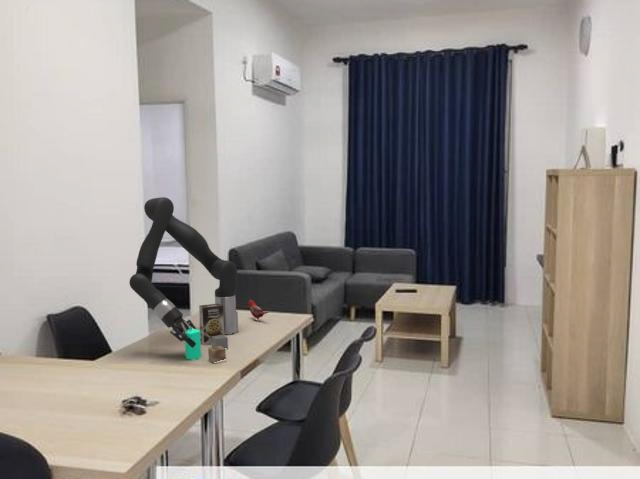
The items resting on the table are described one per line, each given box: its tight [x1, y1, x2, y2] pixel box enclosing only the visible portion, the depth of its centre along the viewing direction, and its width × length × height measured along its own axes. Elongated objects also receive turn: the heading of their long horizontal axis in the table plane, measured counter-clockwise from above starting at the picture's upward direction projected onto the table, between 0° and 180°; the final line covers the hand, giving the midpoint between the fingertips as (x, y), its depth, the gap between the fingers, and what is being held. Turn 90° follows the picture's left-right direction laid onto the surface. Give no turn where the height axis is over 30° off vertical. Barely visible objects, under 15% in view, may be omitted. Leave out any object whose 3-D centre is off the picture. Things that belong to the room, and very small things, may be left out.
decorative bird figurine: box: [248, 299, 269, 320], centre depth 280 cm, size 3×18×10 cm, turn 40°
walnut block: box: [207, 346, 227, 364], centre depth 219 cm, size 5×5×5 cm
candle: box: [184, 328, 202, 360], centre depth 224 cm, size 6×6×12 cm
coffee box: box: [198, 303, 225, 346], centre depth 245 cm, size 9×6×16 cm
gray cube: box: [211, 335, 229, 349], centre depth 236 cm, size 5×5×5 cm
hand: (197, 344), depth 224 cm, fingers closed on candle, 4 cm apart
